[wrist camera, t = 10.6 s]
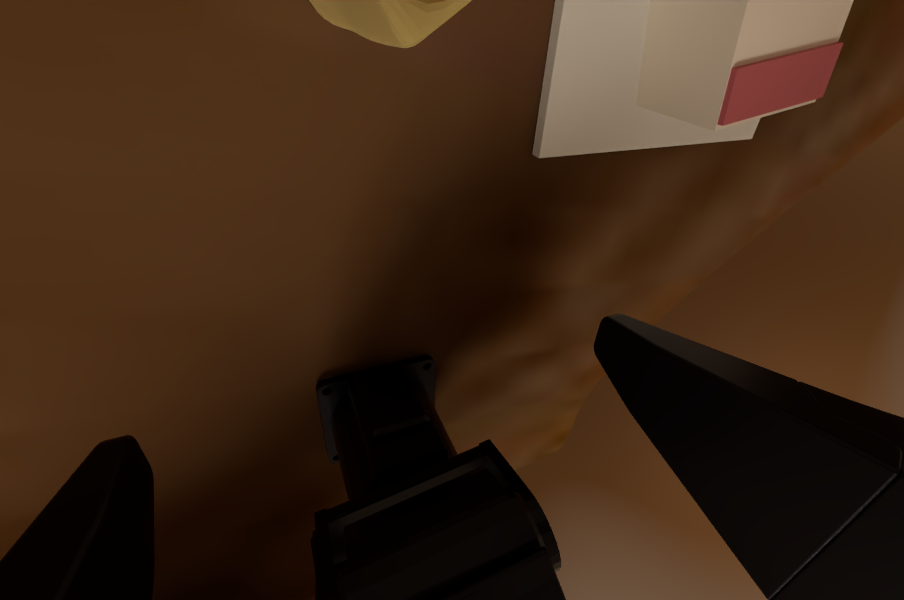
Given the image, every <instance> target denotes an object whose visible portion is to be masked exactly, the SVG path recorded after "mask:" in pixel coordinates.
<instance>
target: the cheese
mask: <svg viewBox="0 0 904 600" xmlns="http://www.w3.org/2000/svg"><path fill="white" fill-rule="evenodd" d="M309 1H310V2H311V4H312V5H313V6H314V8H315V9H316V10H317V12H318V13H319V14H320V15H321V16H322V17H323V18H324V19H325V20H328V21H329V22H330V23H331V24H334V25H336V26H338V27H341V28H344V29H348V30H351V31H353V32H356V33H357V34H359V35H361V36H363V37H365V38H367V39H369V40H371V41H374V42H377V43H381V44H385V45H389V46H395V47H400V48H409V47H412V46H415V45H416V44H418V43H419V42H421V41H422V40H424V39H425V38H426V37H427V36H428V35H429V34H431V33H432V32H433V31H434V30H436V29H437V28H438V27H439V26H441V25H442V24H443V23H445V22H446V21H447V20H448V19H450V18H451V17H452V16H453V15H455V14H456V13H457V12H458V11H459V10H461V9H462V8H463V7H464V6H466V5H467V4H468V3H469V2H470V1H471V0H309Z"/></svg>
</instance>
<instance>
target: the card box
mask: <svg viewBox="0 0 904 600" xmlns="http://www.w3.org/2000/svg"><path fill="white" fill-rule="evenodd" d="M853 1H854V0H651V1H650V8H649V15H648V22H647V29H646V36H645V43H644V50H643V57H642V64H641V71H640V78H639V85H638V92H637V99H636V106H638V107H641V108H644V109H647V110H651V111H654V112H657V113H660V114H663V115H666V116H669V117H672V118H675V119H679V120H682V121H685V122H688V123H691V124H694V125H697V126H700V127H703V128H707V129H710V130H713V131H717V130H720V129H723V128H727V127H730V126H734V125H737V124H741V123H744V122H748V121H751V120H755V119H758V118H761V117H765V116H768V115H772V114H775V113H779V112H782V111H786V110H789V109H793V108H796V107H799V106H803V105H806V104H810V103H813V102H815V101H816V99H818V98H822V97H823V95H824V93H825V90H826V87H827V85H828V82H829V80H830V77H831V74H832V72H833V69H834V67H835V64H836V61H837V59H838V56H839V54H840V51H841V48H842V46H843V42H838V40H839V38H840V35H841V33H842V30H843V27H844V25H845V22H846V19H847V17H848V14H849V11H850V9H851V6H852V3H853Z"/></svg>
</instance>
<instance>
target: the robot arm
mask: <svg viewBox="0 0 904 600" xmlns="http://www.w3.org/2000/svg"><path fill="white" fill-rule="evenodd" d="M594 352H595V355H596V357H597V358H598V360H599V362H600V363H601V365H602V367H603V369H604V370H605V372H606V374H607V375H608V377H609V378H610V380H611V382H612V384H613V385H614V387H615V388H616V390H617V392H618V394H619V395H620V397H621V399H622V400H623V402H624V404H625V405H626V407H627V408H628V410H629V411H630V413H631V414H632V416H633V417H634V419H635V420H636V421H637V423H638V424H639V425H640V427H641V428H642V430H643V431H644V432H645V434H646V435H647V436H648V438H649V439H650V440H651V442H652V443H653V445H654V446H655V447H656V449H657V450H658V451H659V453H660V454H661V455H662V457H663V458H664V460H665V461H666V462H667V464H668V465H669V466H670V468H671V469H672V470H673V472H674V473H675V474H676V476H677V477H678V479H679V480H680V481H681V483H682V484H683V485H684V487H685V488H686V489H687V491H688V492H689V494H690V495H691V496H692V498H693V499H694V500H695V502H696V503H697V504H698V506H699V507H700V508H701V510H702V511H703V512H704V514H705V515H706V517H707V518H708V519H709V521H710V522H711V523H712V525H713V526H714V527H715V529H716V530H717V531H718V533H719V534H720V536H721V537H722V538H723V540H724V541H725V542H726V544H727V545H728V546H729V548H730V549H731V551H732V552H733V553H734V555H735V556H736V557H737V559H738V560H739V561H740V563H741V564H742V565H743V567H744V568H745V570H746V571H747V572H748V573H749V575H750V576H751V578H752V579H753V581H754V582H755V583H756V585H757V586H758V587H759V589H760V590H761V591H762V593H763V594H764V595H765V597H766V598H767V599H768V600H904V418H903V417H899V416H896V415H893V414H890V413H887V412H884V411H881V410H878V409H875V408H873V407H870V406H867V405H864V404H861V403H858V402H855V401H852V400H849V399H846V398H844V397H841V396H838V395H835V394H833V393H830V392H827V391H824V390H821V389H819V388H816V387H814V386H811V385H808V384H805V383H803V382H798V381H797V380H795V379H792V378H789V377H787V376H784V375H782V374H779V373H776V372H774V371H771V370H768V369H766V368H763V367H761V366H758V365H755V364H753V363H750V362H747V361H745V360H742V359H740V358H737V357H734V356H732V355H729V354H726V353H724V352H721V351H718V350H716V349H713V348H710V347H708V346H705V345H702V344H700V343H697V342H695V341H692V340H689V339H687V338H684V337H681V336H679V335H676V334H673V333H671V332H668V331H666V330H663V329H660V328H657V327H655V326H652V325H650V324H647V323H644V322H642V321H639V320H636V319H634V318H631V317H629V316H626V315H623V314H615V315H611V316H607V317H604V318H603V319H602V320H601V323H600V326H599V329H598V332H597V336H596V339H595V342H594ZM426 363H428V364H426ZM425 364H426V365H425ZM326 388H329V389H327V390H324V389H326ZM434 389H435V362H434V360H433V358H432V357H431V356H429V355H424V356H420V357H416V358H412V359H408V360H403V361H399V362H395V363H391V364H387V365H383V366H379V367H374V368H370V369H366V370H362V371H358V372H354V373H350V374H345V375H341V376H337V377H333V378H329V379H325V380H322V381H320V382H319V383H318V384H317V386H316V392H317V398H318V403H319V409H320V415H321V420H322V426H323V432H324V437H325V443H326V449H327V454H328V459H329V461H330V462H331V463H340V467H341V471H342V475H343V479H344V483H345V487H346V491H347V495H348V499H349V501H347V502H345V503H342V504H340V505H337V506H335V507H333V508H330V509H328V510H327V508H325V509H323V510H320V511H318V512H316V513H314V516H315V528H316V530H314V531H313V537H312V538H311V540H310V541H311V547H312V553H313V559H314V566H315V575H316V584H315V600H566V599H565V596H564V593H563V591H562V588H561V586H560V583H559V580H558V578H557V575H556V573H555V572H557V571H559V570H560V568H561V558H560V553H559V550H558V546H557V542H556V540H555V537H554V535H553V532H552V529H551V527H550V525H549V522H548V520H547V518H546V516H545V514H544V512H543V510H542V508H541V507H540V505H539V503H538V502H537V500H536V498H535V497H534V496H533V494H532V493H531V491H530V490H529V489H528V488H527V486H526V485H525V483H524V482H523V481H522V480H521V478H520V477H519V476H518V475H517V474H516V472H515V471H514V470H513V468H512V467H511V466H510V465H509V463H508V462H507V461H506V459H505V458H504V457H503V456H502V454H501V453H500V452H499V451H498V449H497V448H496V447H495V446H494V444H493V443H492V442H491V441H490V439H489V440H486V441H484V442H481V443H479V446H477V447H474V448H472V449H470V450H467V451H465V452H463V453H460V454H457V452H456V450H455V448H454V446H453V444H452V442H451V440H450V438H449V436H448V434H447V432H446V430H445V428H444V426H443V424H442V422H441V420H440V418H439V416H438V414H437V412H436V410H435V408H434ZM153 583H154V480H153V472H152V469H151V466H150V464H149V462H148V460H147V458H146V457H145V455H144V453H143V451H142V449H141V448H140V446H139V444H138V442H137V440H136V439H135V438H134V437H133V436H131V435H126V436H121V437H117V438H113V439H109V440H105V441H102V442H100V443H99V444H98V445H97V446H96V447H95V448H94V449H93V450H92V451H91V453H90V454H89V455H88V456H87V457H86V459H85V460H84V461H83V462H82V463H81V465H80V466H79V467H78V468H77V469H76V471H75V472H74V473H73V474H72V475H71V477H70V478H69V479H68V480H67V481H66V483H65V484H64V485H63V486H62V487H61V489H60V490H59V491H58V492H57V493H56V495H55V496H54V497H53V498H52V499H51V501H50V502H49V503H48V504H47V505H46V507H45V508H44V509H43V510H42V511H41V513H40V514H39V515H38V516H37V517H36V519H35V520H34V521H33V522H32V523H31V525H30V526H29V527H28V528H27V529H26V531H25V532H24V533H23V534H22V535H21V537H20V538H19V539H18V540H17V541H16V543H15V544H14V545H13V546H12V547H11V549H10V550H9V551H8V552H7V554H6V555H5V556H4V557H3V558H2V560H1V561H0V600H152V594H153Z"/></svg>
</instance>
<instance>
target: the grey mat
mask: <svg viewBox="0 0 904 600" xmlns="http://www.w3.org/2000/svg"><path fill="white" fill-rule="evenodd" d="M650 1H651V0H555V5H554V12H553V19H552V26H551V32H550V39H549V46H548V52H547V59H546V66H545V73H544V79H543V86H542V93H541V99H540V106H539V113H538V120H537V126H536V133H535V140H534V146H533V153H532V154H533V155H534V156H536V157H538V158H547V157H558V156H569V155H580V154H591V153H602V152H613V151H624V150H635V149H646V148H657V147H668V146H679V145H690V144H701V143H712V142H723V141H734V140H745V139H752V137H753V135H754V132H755V130H756V128H757V125H758V123H759V120H760V118H758V119H755V120H751V121H748V122H744V123H741V124H737V125H734V126H730V127H727V128H723V129H720V130H717V131H713V130H710V129H707V128H703V127H700V126H697V125H694V124H691V123H688V122H685V121H682V120H679V119H675V118H672V117H669V116H666V115H663V114H660V113H657V112H654V111H651V110H647V109H644V108H641V107H638V106H636V99H637V92H638V85H639V78H640V71H641V64H642V57H643V50H644V43H645V36H646V29H647V22H648V15H649V8H650Z"/></svg>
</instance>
